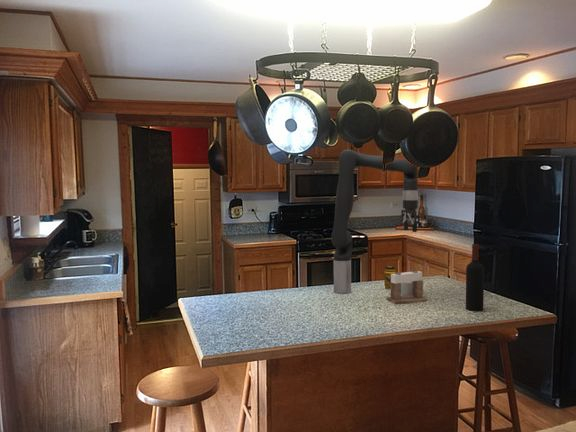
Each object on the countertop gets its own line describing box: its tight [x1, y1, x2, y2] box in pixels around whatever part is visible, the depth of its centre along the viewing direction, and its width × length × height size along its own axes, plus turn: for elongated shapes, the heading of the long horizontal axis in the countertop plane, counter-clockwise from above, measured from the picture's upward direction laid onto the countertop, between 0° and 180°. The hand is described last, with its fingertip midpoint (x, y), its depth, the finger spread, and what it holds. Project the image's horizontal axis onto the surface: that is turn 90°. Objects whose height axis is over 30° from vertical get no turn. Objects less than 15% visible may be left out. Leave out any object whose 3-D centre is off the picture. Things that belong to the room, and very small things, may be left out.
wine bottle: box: [465, 243, 485, 312], centre depth 219 cm, size 8×8×30 cm
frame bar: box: [391, 270, 423, 284], centre depth 237 cm, size 16×4×4 cm, turn 113°
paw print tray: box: [401, 282, 412, 295], centre depth 252 cm, size 10×13×9 cm
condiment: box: [380, 265, 397, 290], centre depth 263 cm, size 7×8×12 cm
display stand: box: [386, 279, 428, 305], centre depth 238 cm, size 10×17×10 cm, turn 106°
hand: (410, 230), depth 246 cm, fingers open, 8 cm apart
